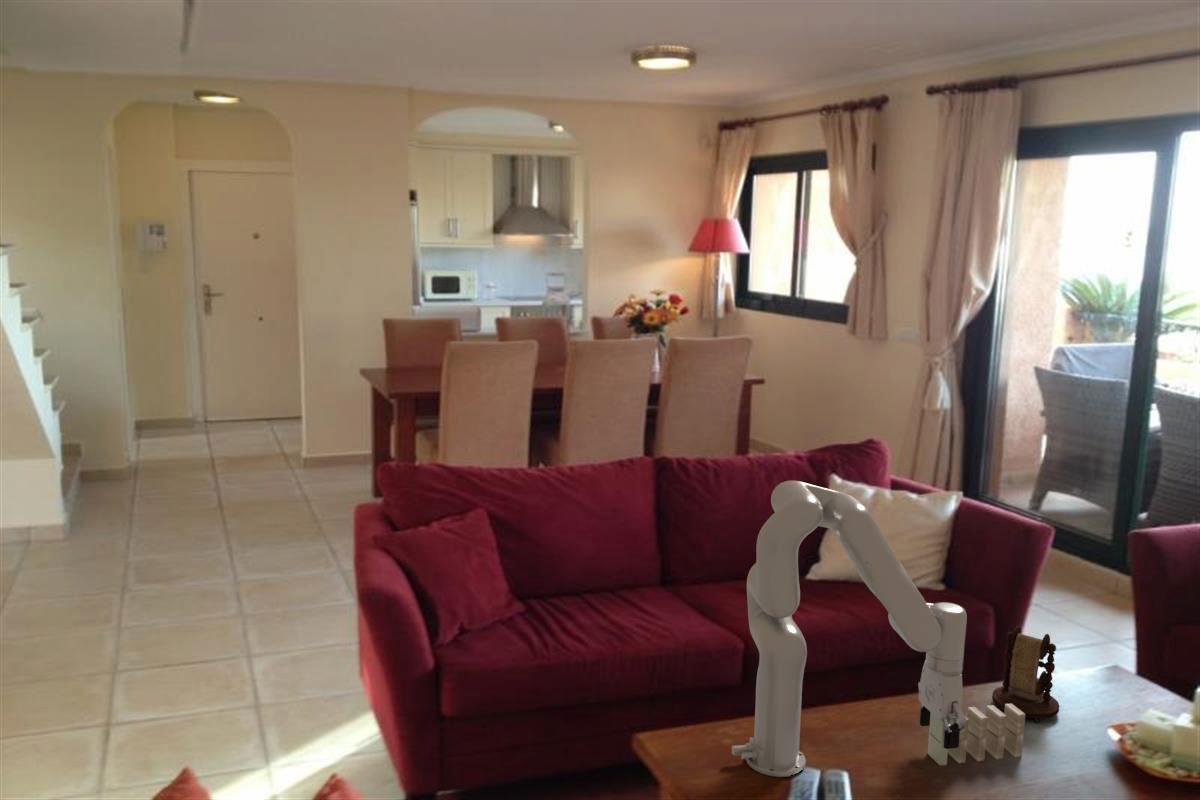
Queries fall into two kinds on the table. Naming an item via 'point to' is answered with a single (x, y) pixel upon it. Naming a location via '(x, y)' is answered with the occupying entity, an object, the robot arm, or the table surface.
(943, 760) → the domino
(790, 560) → the robot arm
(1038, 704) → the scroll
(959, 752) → the domino
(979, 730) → the domino
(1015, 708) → the domino
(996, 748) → the domino
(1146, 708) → the table surface
